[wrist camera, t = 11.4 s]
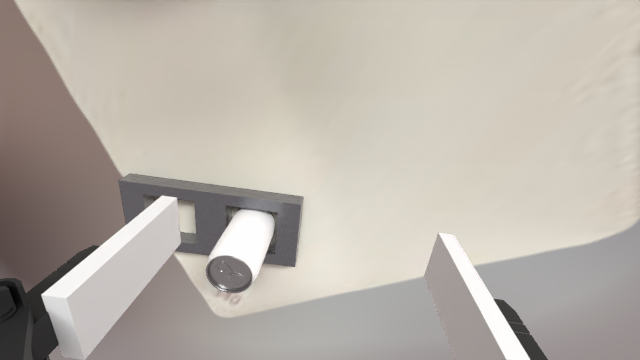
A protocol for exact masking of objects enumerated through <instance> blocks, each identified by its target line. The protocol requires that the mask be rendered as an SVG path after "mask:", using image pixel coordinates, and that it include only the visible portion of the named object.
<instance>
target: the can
mask: <svg viewBox="0 0 640 360" xmlns="http://www.w3.org/2000/svg"><path fill="white" fill-rule="evenodd" d="M274 230H275V221H274V218H273V216H272V215H271V214H270V212H269V211H263V210H255V209H248V208H241V209H239V210H238V211H237V213H236V214H235V216H234V217H233V219H232V220H231V222H230V223H229V225H228V226H227V228H226V229H225V231H224V233H223V234H222V236H221V237H220V239H219V240H218V242H217V244H216V245H215V247H214V248H213V250H212V252H211V254H210V256H209V258H208V265H207V267H206V275H207V278H208V280H209V282H210V283H211V284H212V285H213V286H214V287H216V288H217V289H219V290H221V291H223V292H227V293H239V292H242V291H245V290H246V289H247V288H249V286H250V285H251V283H252V282H253V281H254V280H255V279H256V278H257V276H258V274H259V271H260V269H261V266H262V263H263V261H264V258H265V255H266V253H267V250H268V247H269V244H270V241H271V239H272V236H273V233H274Z"/></svg>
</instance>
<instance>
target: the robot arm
mask: <svg viewBox="0 0 640 360" xmlns="http://www.w3.org/2000/svg"><path fill="white" fill-rule="evenodd" d="M180 244H181V237H180V225H179V213H178V201H177V198H176V197H169V196H161V197H160V198H159V199H157V200H156V201H155V202H154V203H152V204H151V205H150V206H149V207H148V208H146V209H145V210H144V211H143V212H141V213H140V214H139V215H138V216H137V217H135V218H134V219H133V220H132V221H131V222H129V223H128V224H127V225H126V226H124V228H122V229H121V230H120V231H118V232H117V233H116V234H115V235H113V236H112V237H111V238H110V239H109V240H108V241H106V242H105V243H104V244H103V245H101V246H94V245H93V246H91V247H89V248H87V249H85V250H83V251H81V252H79V253H77V254H76V255H75V256H74V257H72V258H71V259H70V260H68V261H67V263H65V264H63V265H62V266H61V267H59V268H58V269H57V271H54V272H53V273H52V274H50V275H49V276H48V277H46V278H45V279H44V280H43V281H41V282H40V283H39V284H37V285H36V286H35V287H33V288H32V289H31V290H30V291H28V292H27V293H25V290H24V288H23V285H22V282H21V281H20V280H18V279H15V278H4V279H0V360H50V359H49V356H48V355H49V354H50V353H51V352H52V351H53V350H54V349H55V348H56V346H59V349H60V352H61V355H62V357H66V358H73V359H81V360H85V359H86V358H87V357H88V356H89V354H90V353H91V352H92V351H93V349H94V348H95V347H96V346H97V345H98V343H99V342H100V341H101V340H102V338H103V337H104V336H105V335H106V334H107V332H108V331H109V330H110V329H111V328H112V326H113V325H114V324H115V323H116V322H117V320H118V319H119V318H120V317H121V315H122V314H123V313H124V312H125V311H126V309H127V308H128V307H129V306H130V304H131V303H132V302H133V301H134V300H135V298H136V297H137V296H138V295H139V294H140V292H141V291H142V290H143V289H144V287H145V286H146V285H147V284H148V283H149V281H150V280H151V279H152V278H153V277H154V275H155V274H156V273H157V272H158V270H159V269H160V268H161V267H162V266H163V264H164V263H165V262H166V261H167V259H168V258H169V257H170V256H171V254H172V253H173V252H174V251H175V250H176V249H177V247H178V246H179V245H180ZM424 277H425V279H426V282H427V285H428V288H429V290H430V293H431V296H432V298H433V301H434V304H435V307H436V309H437V312H438V315H439V317H440V320H441V323H442V325H443V328H444V331H445V333H446V336H447V339H448V342H449V344H450V347H451V350H452V352H453V355H454V358H455V360H548V359H547V358H546V356H545V355H544V354H543V352H542V350H541V349H540V348H539V346H538V344H537V343H536V342H535V341H534V338H533V337H532V336H531V335H530V333H529V331H528V330H527V328H526V327H525V325H523V322H522V321H521V319H520V318H519V316H518V315H517V313H516V312H515V310H513V309H512V308H511V307H510V306H509V305H508V304H507V303H506V302H505V301H504V300H498V299H493V298H492V296H491V295H490V293H489V291H488V290H487V288H486V286H485V285H484V283H483V282H482V280H481V278H480V277H479V275H478V273H477V272H476V270H475V268H474V267H473V265H472V264H471V262H470V260H469V259H468V257H467V255H466V254H465V252H464V251H463V249H462V247H461V246H460V244H459V242H458V241H457V239H456V237H455V236H454V235H452V234H445V233H438V235H437V239H436V242H435V245H434V248H433V251H432V254H431V257H430V260H429V263H428V266H427V269H426V272H425V275H424Z"/></svg>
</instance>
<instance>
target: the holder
mask: <svg viewBox="0 0 640 360" xmlns="http://www.w3.org/2000/svg"><path fill="white" fill-rule="evenodd" d="M119 187H120V192H121V198H122V204H123V210H124V216H125V222H126V225H127V224H128V223H129V222H131V221H132V220H133V219H134V218H135V217H137V216H138V215H139V214H140V213H141V212H143V211H144V210H145V209H146V208H148V207H149V206H150V205H151V204H152V203H154V196H158V197H161V196H169V197H176V198H177V199H181V200H188V201H194V202H195V219H196V234H191V233H184V232H180V237H181V244H180V245H179V246H178V247H177V249H176V250H175V251H181V252H188V253H196V254H203V255H210V254H211V252H212V250H213V248H214V247H215V245H216V244H217V242H218V240H219V239H220V237H221V236H222V234H223V233H224V231H225V229H226V228H227V226H228V225H229V223H230V222H231V206H233V207H241V208H248V209H255V210H263V211H270V212H278V215H277V230H276V244H275V245H272V244H269V247H268V250H267V253H266V255H265V258H264V261H263V263H269V264H277V265H284V266H291V267H295V264H296V259H297V252H298V243H299V234H300V224H301V215H302V206H303V197H302V196H294V195H287V194H279V193H272V192H264V191H257V190H249V189H242V188H234V187H227V186H219V185H212V184H204V183H197V182H189V181H182V180H174V179H167V178H159V177H152V176H144V175H137V174H128V175H127V176H125V177H123V178H121V179H120V180H119Z"/></svg>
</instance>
